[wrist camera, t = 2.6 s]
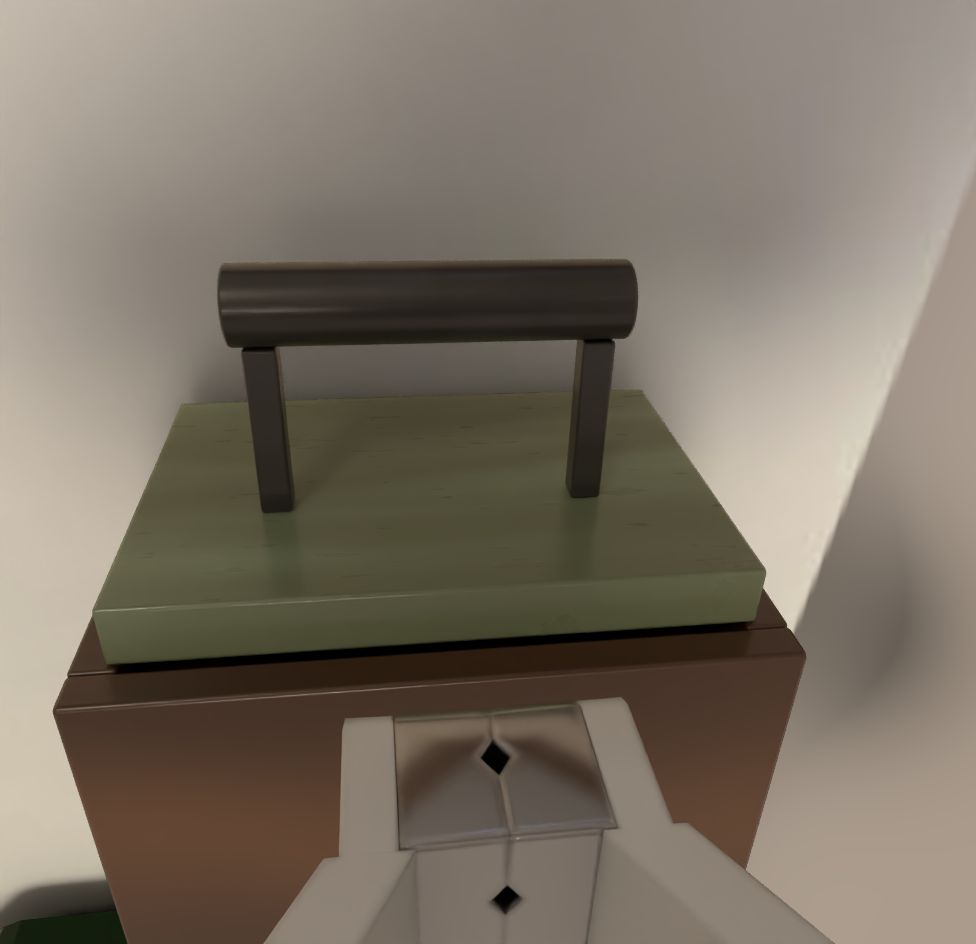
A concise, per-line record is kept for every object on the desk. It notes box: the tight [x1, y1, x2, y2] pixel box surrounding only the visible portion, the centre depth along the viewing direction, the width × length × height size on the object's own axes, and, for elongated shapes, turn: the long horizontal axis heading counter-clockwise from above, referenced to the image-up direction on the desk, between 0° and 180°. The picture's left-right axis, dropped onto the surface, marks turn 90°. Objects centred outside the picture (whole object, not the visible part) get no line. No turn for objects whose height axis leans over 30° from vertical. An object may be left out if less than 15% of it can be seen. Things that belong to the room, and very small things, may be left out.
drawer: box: [92, 259, 766, 669], centre depth 20 cm, size 18×11×8 cm, turn 178°
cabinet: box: [53, 589, 806, 944], centre depth 22 cm, size 15×13×10 cm
